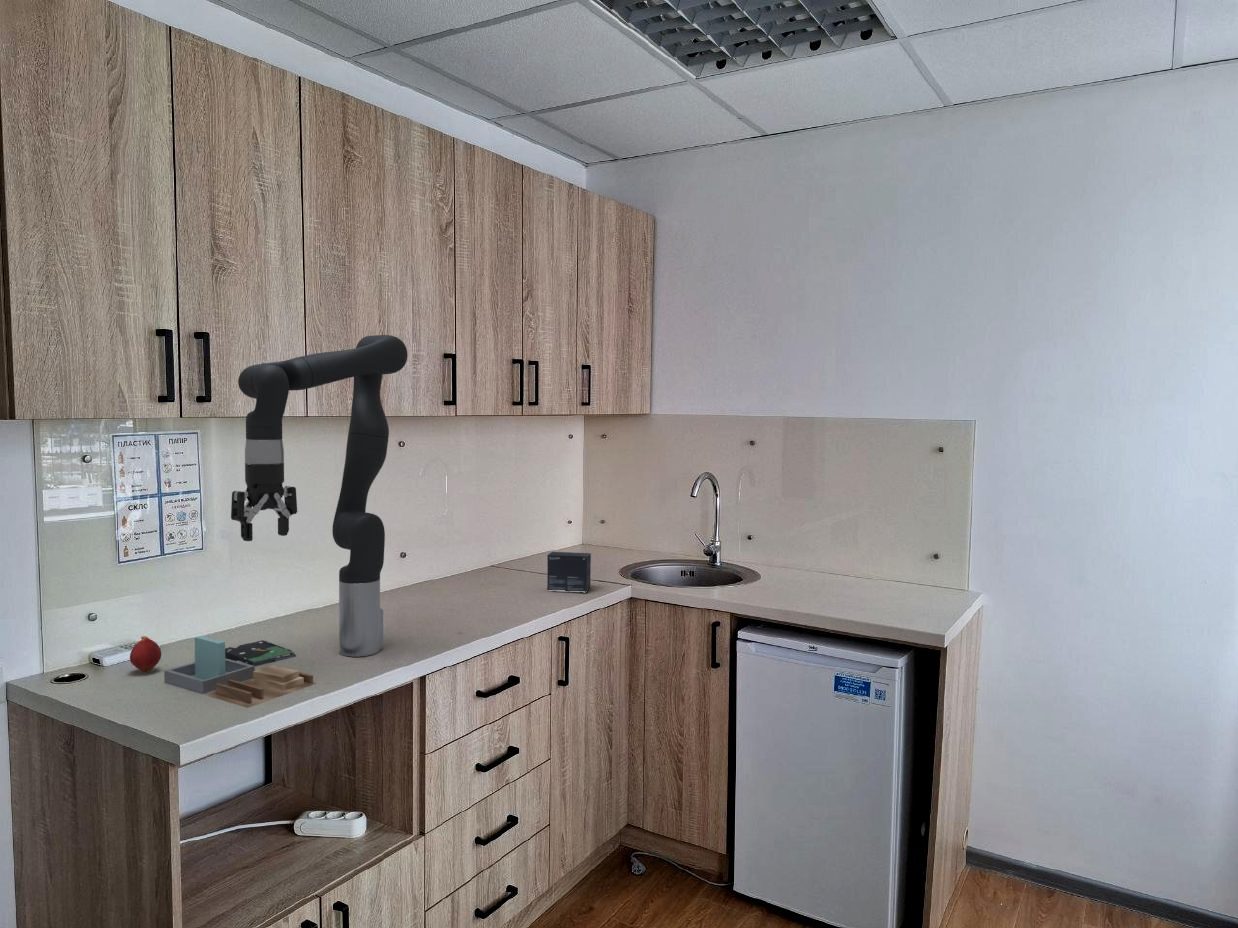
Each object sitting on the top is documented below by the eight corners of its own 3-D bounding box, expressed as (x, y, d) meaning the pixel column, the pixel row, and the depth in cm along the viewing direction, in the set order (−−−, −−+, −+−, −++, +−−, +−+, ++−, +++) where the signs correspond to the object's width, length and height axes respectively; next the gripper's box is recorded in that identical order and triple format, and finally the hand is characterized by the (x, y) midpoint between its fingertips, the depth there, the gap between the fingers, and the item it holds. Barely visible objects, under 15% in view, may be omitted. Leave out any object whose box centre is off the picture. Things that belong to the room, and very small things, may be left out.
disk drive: (219, 661, 187) (253, 674, 178) (219, 649, 187) (253, 661, 178) (263, 651, 196) (297, 662, 187) (262, 639, 195) (297, 650, 186)
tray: (216, 672, 178) (216, 655, 178) (254, 682, 172) (254, 665, 171) (164, 687, 168) (164, 670, 167) (203, 699, 162) (202, 681, 161)
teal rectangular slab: (201, 677, 172) (200, 635, 172) (225, 684, 168) (224, 641, 168) (195, 679, 171) (194, 637, 170) (219, 686, 167) (218, 643, 166)
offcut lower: (274, 675, 173) (274, 669, 172) (303, 683, 168) (303, 677, 168) (253, 682, 168) (253, 676, 168) (283, 690, 164) (283, 684, 164)
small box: (591, 589, 265) (591, 552, 265) (586, 594, 259) (587, 556, 258) (551, 587, 267) (551, 550, 267) (546, 591, 261) (546, 554, 260)
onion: (148, 666, 181) (147, 630, 180) (167, 669, 179) (167, 633, 178) (124, 674, 175) (123, 637, 175) (143, 677, 173) (142, 640, 173)
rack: (274, 677, 175) (274, 663, 175) (316, 688, 169) (316, 673, 168) (204, 700, 161) (204, 684, 161) (247, 713, 155) (247, 697, 154)
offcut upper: (269, 671, 172) (269, 665, 172) (299, 676, 169) (299, 670, 169) (252, 677, 168) (252, 671, 168) (282, 683, 165) (282, 676, 165)
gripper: (281, 458, 179) (282, 532, 180) (222, 461, 167) (223, 540, 168) (304, 460, 176) (305, 535, 177) (246, 463, 163) (247, 544, 164)
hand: (265, 538), depth 172 cm, fingers open, 8 cm apart
